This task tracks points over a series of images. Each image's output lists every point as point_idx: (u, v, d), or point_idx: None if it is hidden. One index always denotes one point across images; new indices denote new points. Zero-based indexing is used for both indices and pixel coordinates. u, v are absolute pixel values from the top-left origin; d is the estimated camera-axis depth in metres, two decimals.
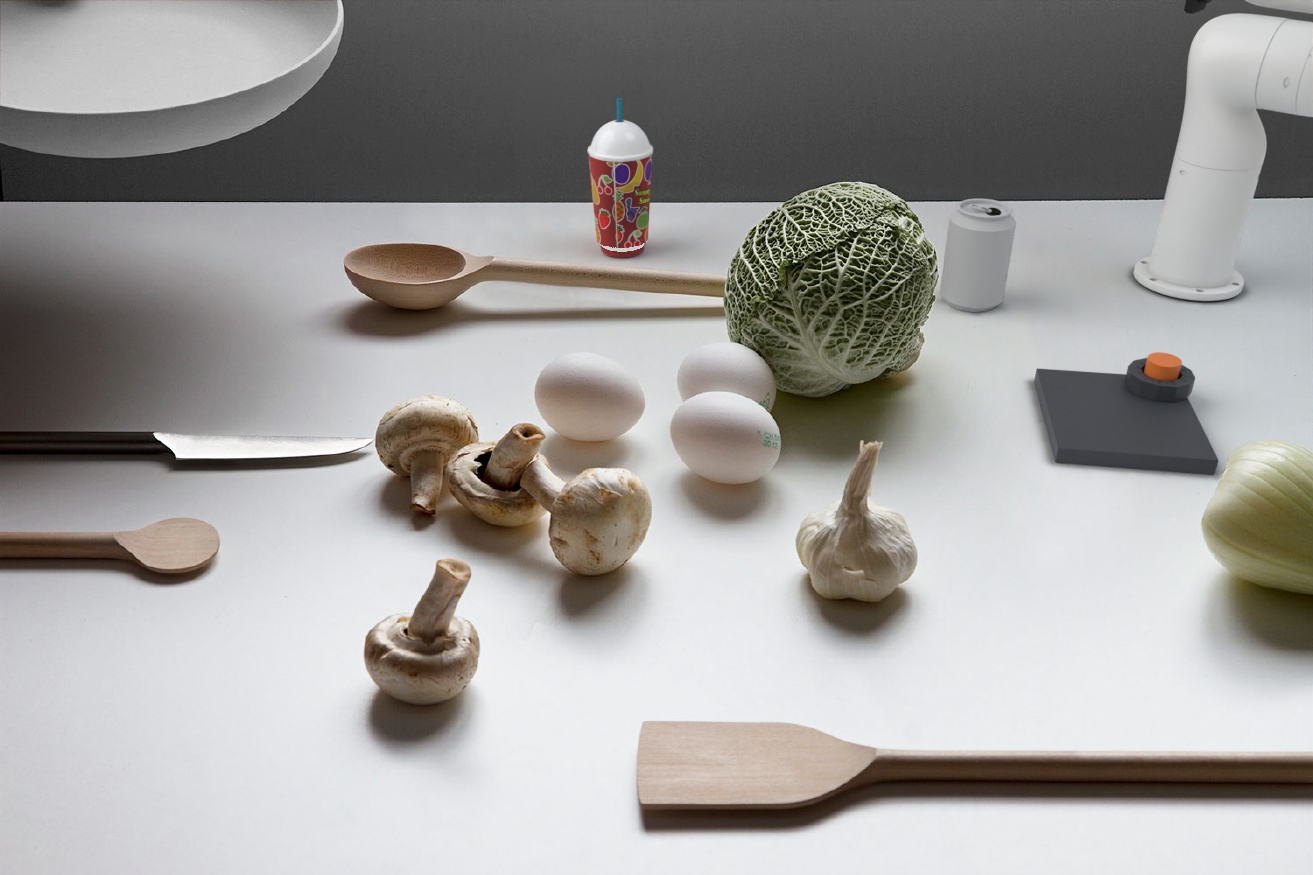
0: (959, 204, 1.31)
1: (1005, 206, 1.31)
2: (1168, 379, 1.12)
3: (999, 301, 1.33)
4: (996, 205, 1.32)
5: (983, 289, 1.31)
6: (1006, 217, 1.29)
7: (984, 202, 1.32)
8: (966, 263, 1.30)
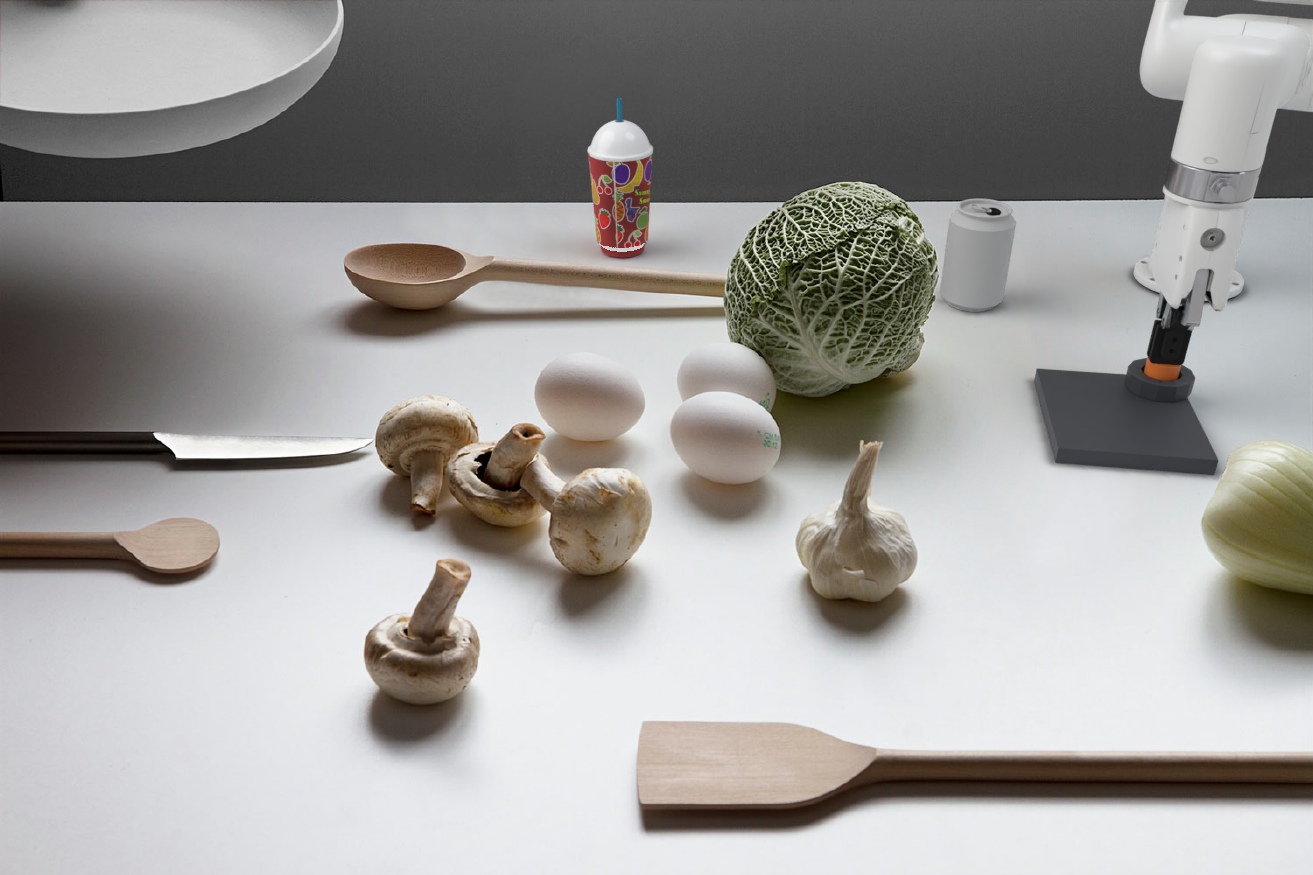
0: (959, 204, 1.31)
1: (1005, 206, 1.31)
2: (1168, 379, 1.12)
3: (999, 301, 1.33)
4: (996, 205, 1.32)
5: (983, 289, 1.31)
6: (1006, 217, 1.29)
7: (984, 202, 1.32)
8: (966, 263, 1.30)
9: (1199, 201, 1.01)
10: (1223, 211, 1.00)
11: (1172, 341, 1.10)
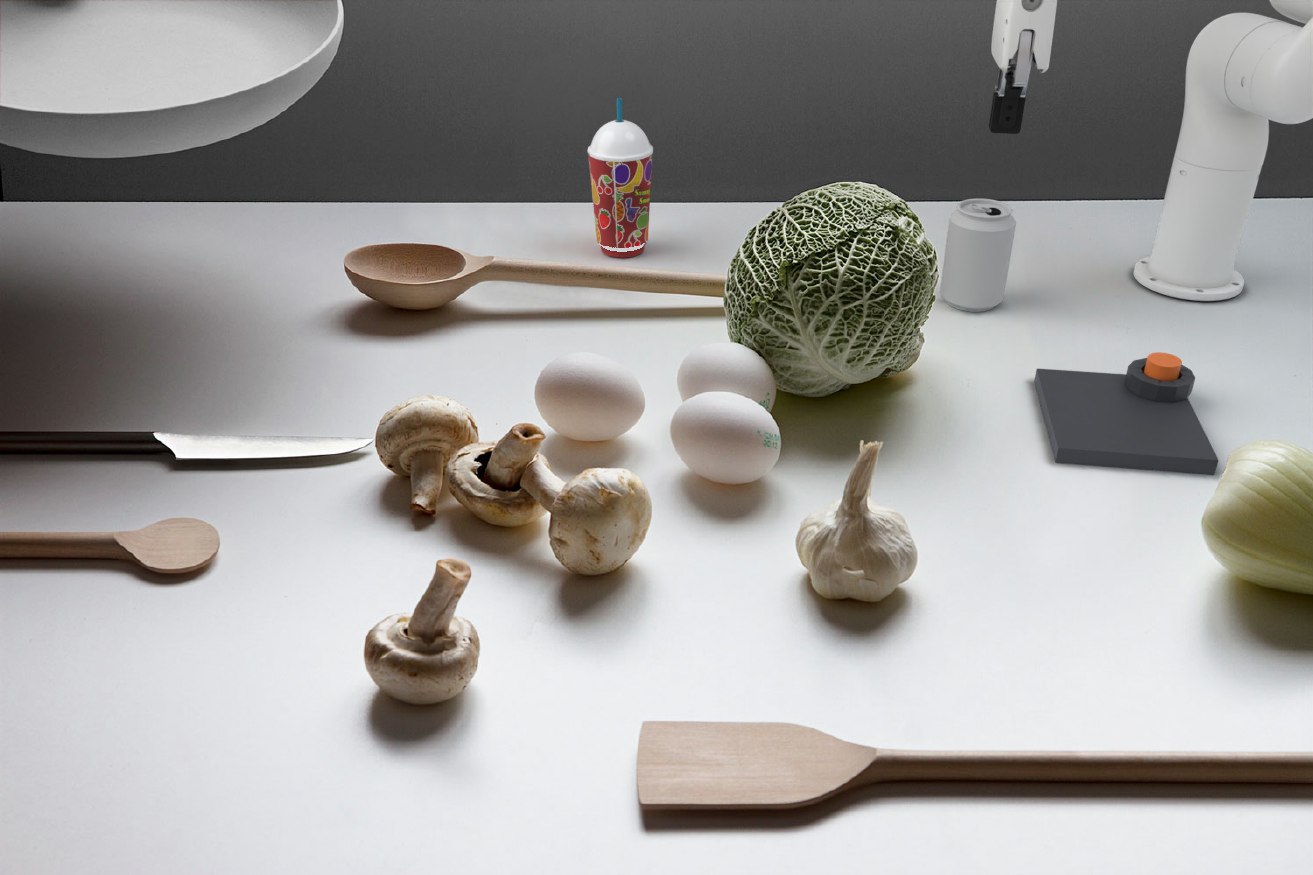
0: (959, 204, 1.31)
1: (1005, 206, 1.31)
2: (1168, 379, 1.12)
3: (999, 301, 1.33)
4: (996, 205, 1.32)
5: (983, 289, 1.31)
6: (1006, 217, 1.29)
7: (984, 202, 1.32)
8: (966, 263, 1.30)
9: None
10: None
11: (1008, 109, 1.22)
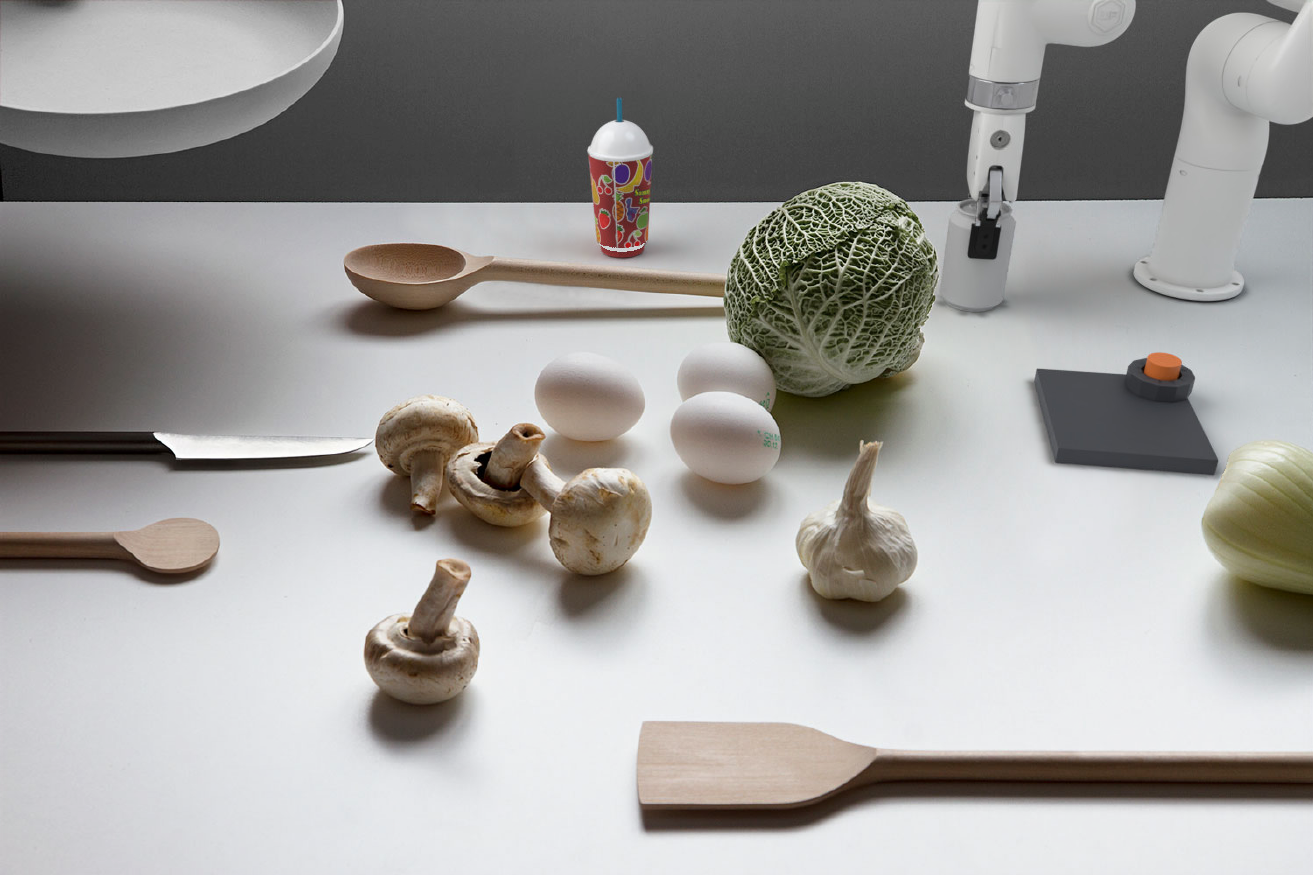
0: (959, 204, 1.31)
1: (1005, 206, 1.31)
2: (1168, 379, 1.12)
3: (999, 301, 1.33)
4: None
5: (982, 289, 1.31)
6: (1006, 218, 1.29)
7: None
8: (966, 263, 1.30)
9: (988, 108, 1.21)
10: (1007, 116, 1.20)
11: (984, 238, 1.27)
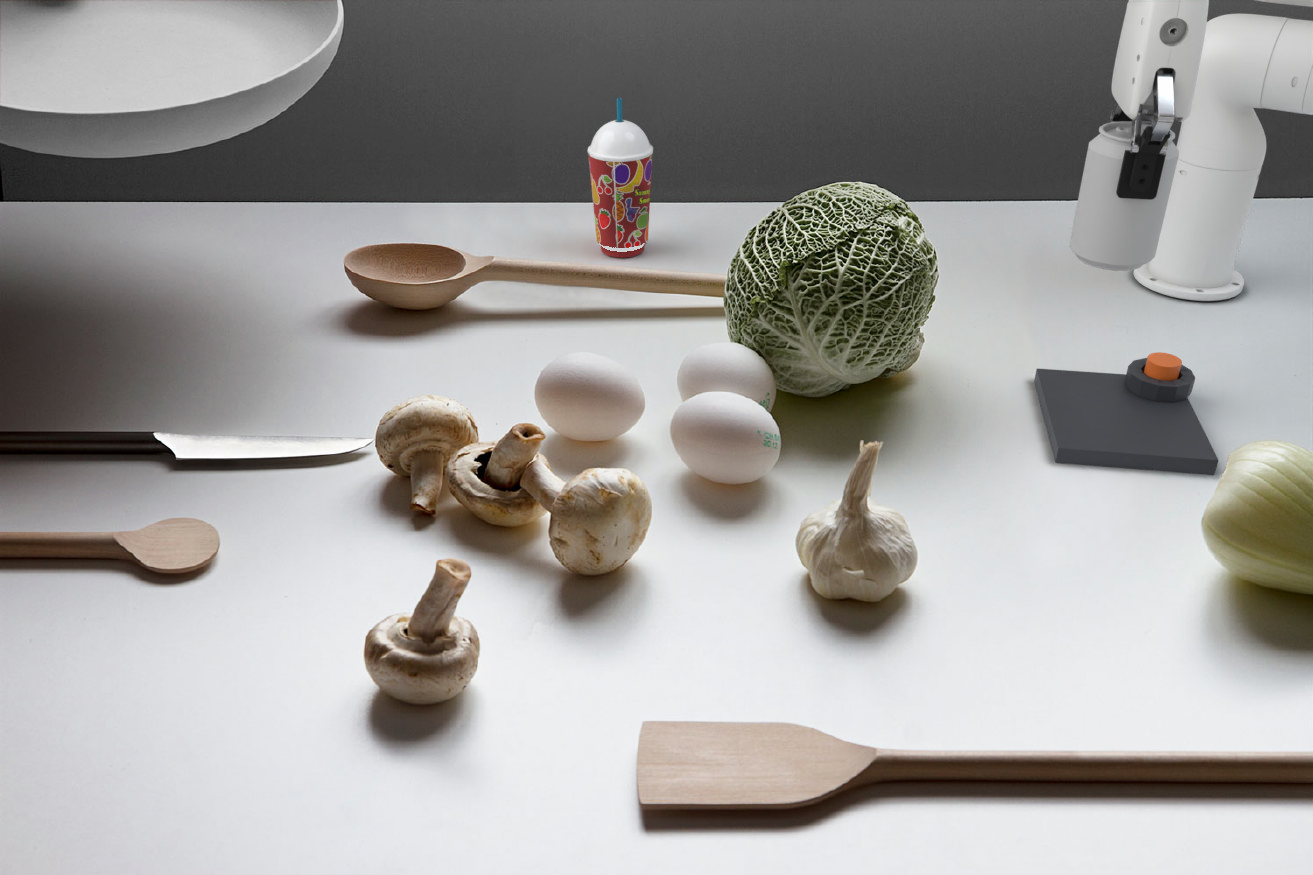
0: (1102, 127, 0.99)
1: None
2: (1168, 379, 1.12)
3: (1151, 257, 1.01)
4: None
5: (1132, 240, 0.99)
6: (1168, 143, 0.96)
7: None
8: (1111, 205, 0.98)
9: None
10: None
11: (1142, 169, 0.95)
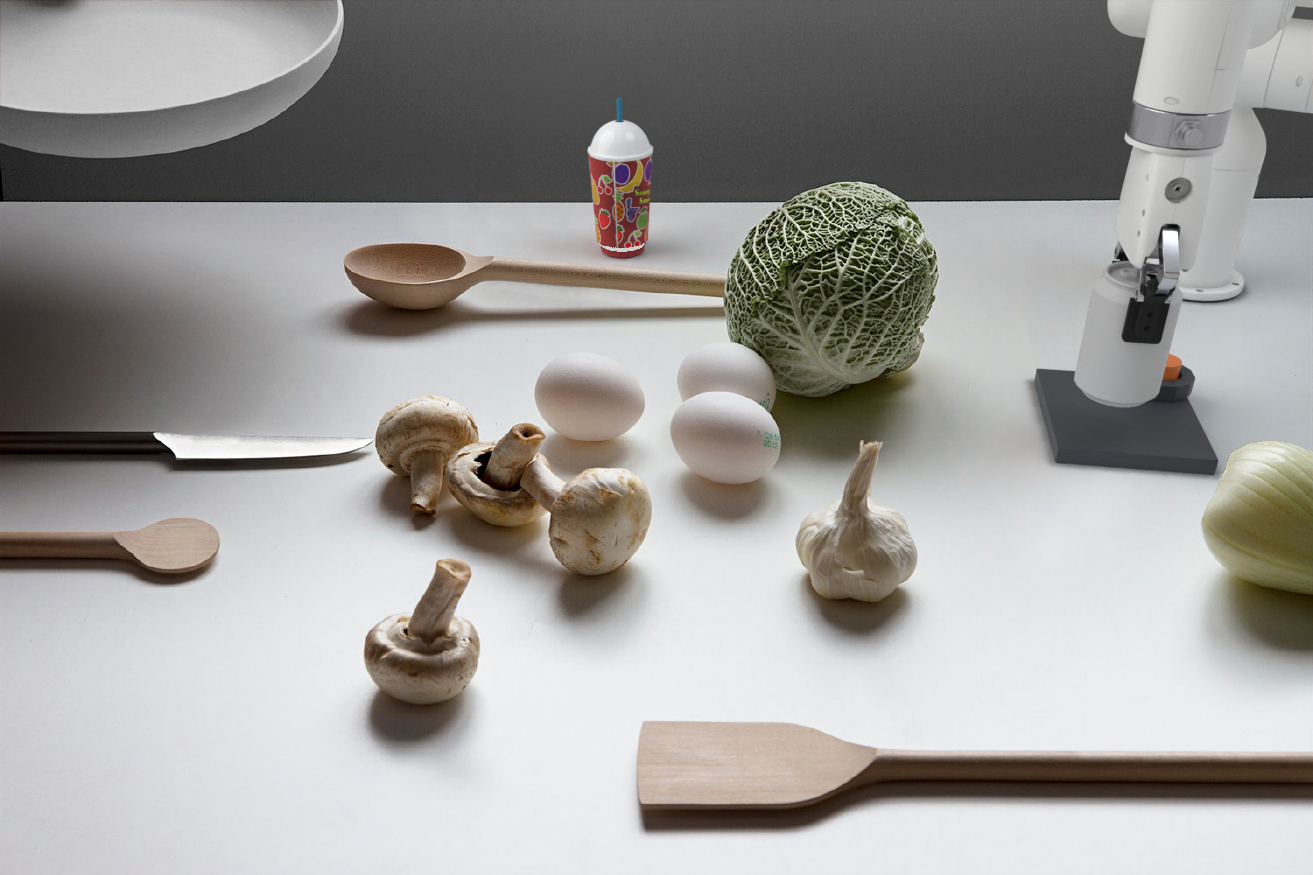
0: (1107, 269, 1.00)
1: None
2: (1168, 379, 1.12)
3: (1155, 394, 1.03)
4: None
5: (1137, 380, 1.00)
6: None
7: None
8: (1117, 347, 0.99)
9: (1163, 148, 0.90)
10: (1190, 158, 0.90)
11: (1147, 317, 0.96)
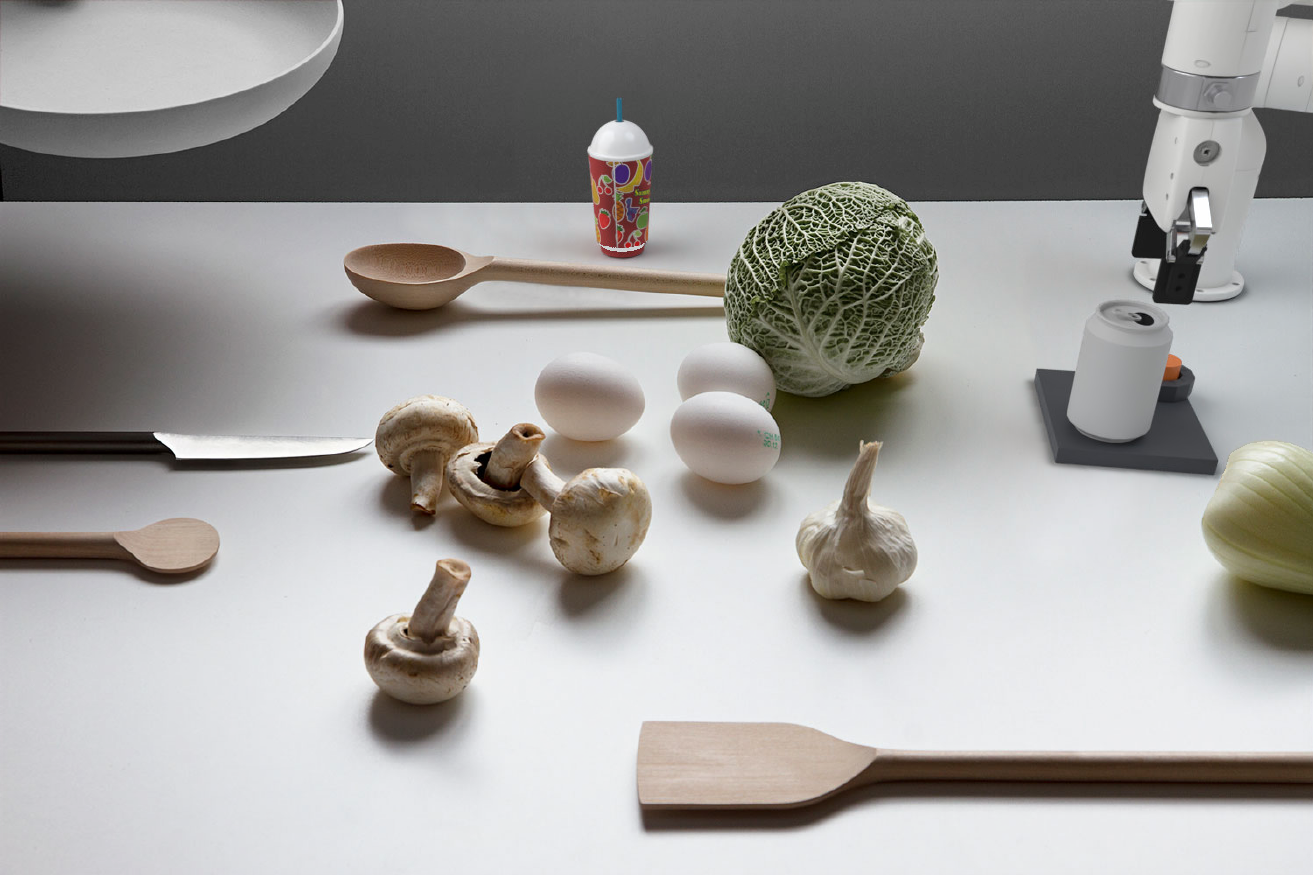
0: (1098, 308, 1.02)
1: (1158, 311, 1.02)
2: (1168, 379, 1.12)
3: (1147, 430, 1.05)
4: (1144, 309, 1.03)
5: (1129, 416, 1.03)
6: (1163, 328, 1.00)
7: (1128, 304, 1.04)
8: (1108, 384, 1.02)
9: (1192, 111, 0.91)
10: (1219, 121, 0.90)
11: (1178, 277, 0.96)
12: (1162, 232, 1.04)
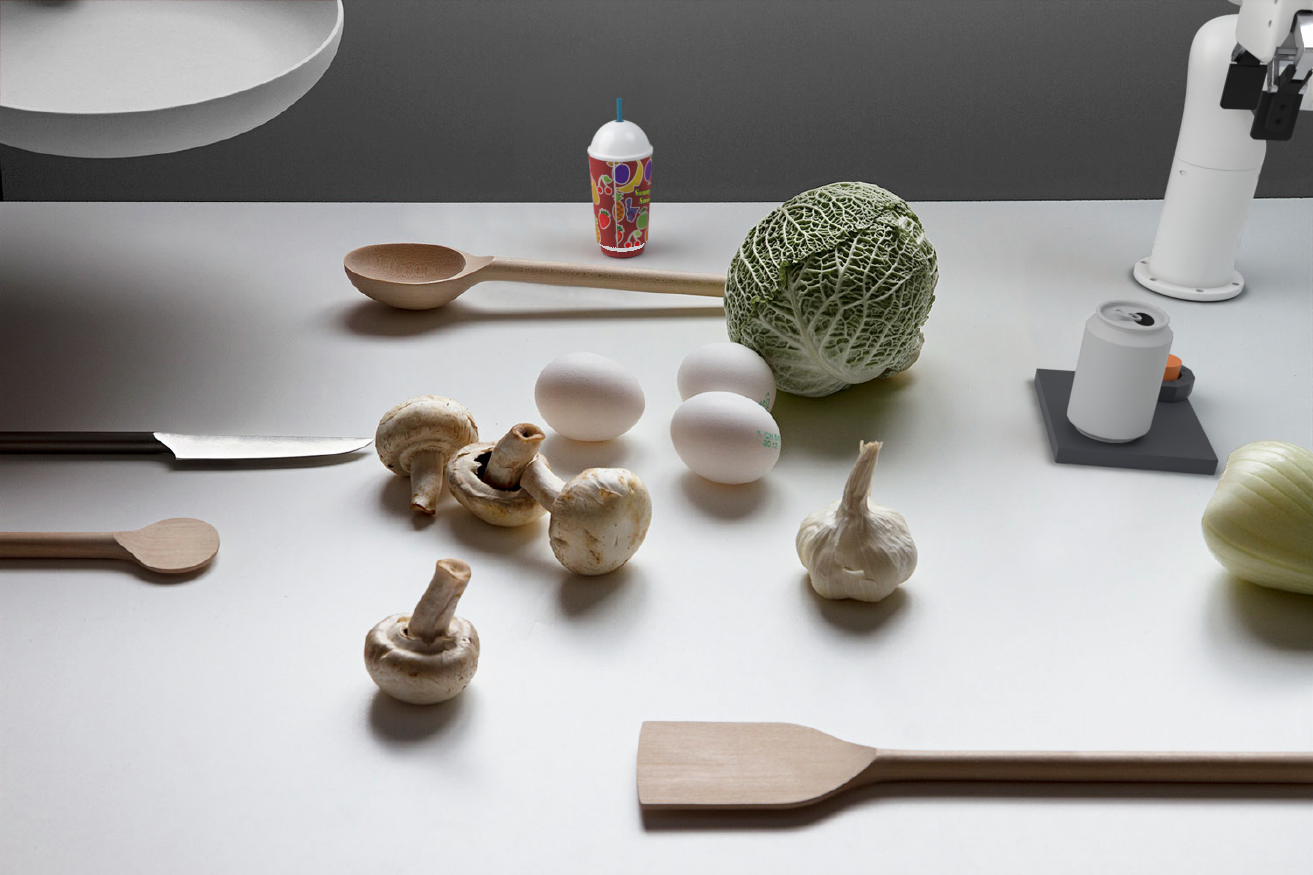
0: (1099, 308, 1.02)
1: (1158, 311, 1.02)
2: (1168, 379, 1.12)
3: (1146, 430, 1.05)
4: (1144, 309, 1.03)
5: (1129, 417, 1.03)
6: (1163, 328, 1.00)
7: (1129, 304, 1.04)
8: (1108, 384, 1.01)
9: None
10: None
11: (1279, 109, 0.94)
12: (1253, 80, 1.03)
